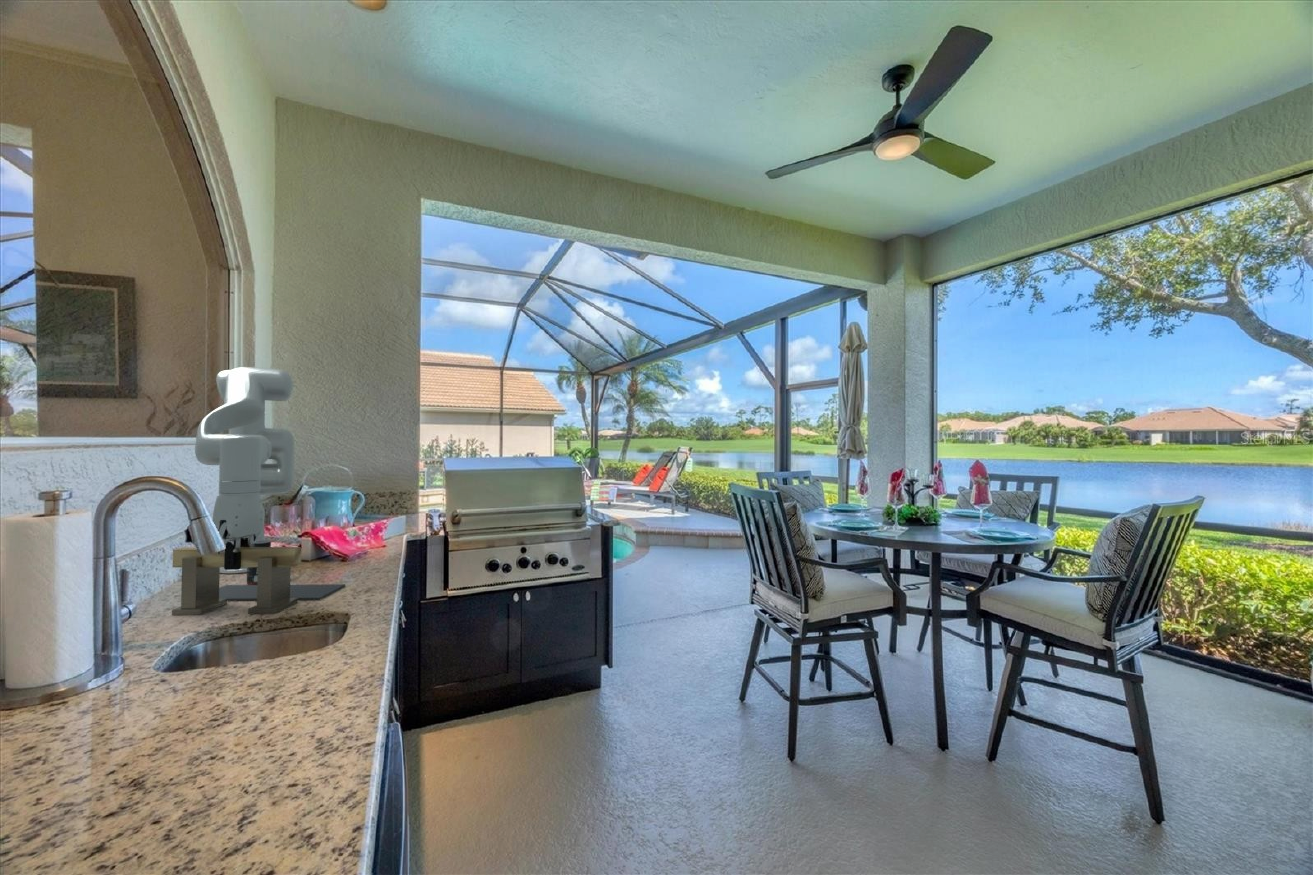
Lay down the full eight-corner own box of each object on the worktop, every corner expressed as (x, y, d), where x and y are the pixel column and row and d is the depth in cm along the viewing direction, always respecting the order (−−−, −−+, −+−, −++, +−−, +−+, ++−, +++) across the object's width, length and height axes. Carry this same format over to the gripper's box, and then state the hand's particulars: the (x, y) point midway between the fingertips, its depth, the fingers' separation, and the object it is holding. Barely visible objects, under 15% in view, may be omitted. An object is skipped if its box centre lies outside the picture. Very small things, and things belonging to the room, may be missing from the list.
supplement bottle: (262, 586, 138) (263, 544, 138) (240, 586, 138) (241, 543, 139) (279, 580, 144) (280, 539, 144) (258, 580, 144) (259, 539, 145)
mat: (226, 587, 137) (226, 585, 137) (344, 586, 139) (344, 584, 139) (189, 601, 125) (189, 598, 125) (319, 600, 127) (319, 597, 127)
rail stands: (200, 603, 123) (201, 551, 123) (297, 602, 125) (298, 551, 125) (171, 615, 115) (173, 558, 115) (276, 614, 117) (277, 558, 117)
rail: (183, 564, 121) (183, 547, 121) (300, 564, 123) (301, 547, 123) (172, 567, 118) (172, 549, 118) (293, 567, 120) (293, 549, 120)
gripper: (247, 485, 128) (245, 559, 128) (194, 491, 112) (192, 576, 112) (279, 485, 129) (277, 559, 129) (231, 491, 113) (229, 576, 112)
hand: (238, 566), depth 120 cm, fingers closed on rail, 2 cm apart
